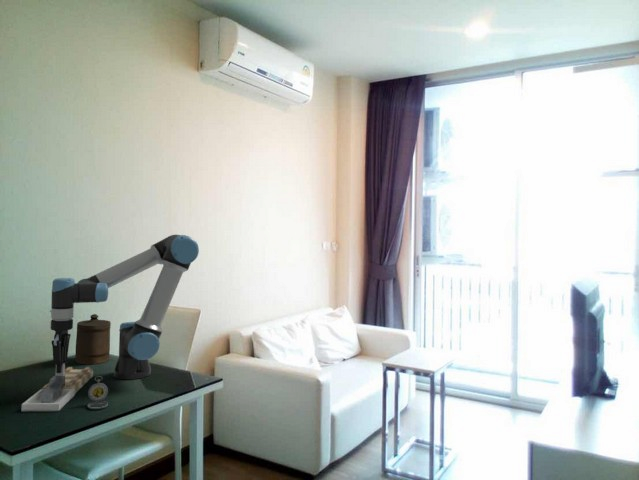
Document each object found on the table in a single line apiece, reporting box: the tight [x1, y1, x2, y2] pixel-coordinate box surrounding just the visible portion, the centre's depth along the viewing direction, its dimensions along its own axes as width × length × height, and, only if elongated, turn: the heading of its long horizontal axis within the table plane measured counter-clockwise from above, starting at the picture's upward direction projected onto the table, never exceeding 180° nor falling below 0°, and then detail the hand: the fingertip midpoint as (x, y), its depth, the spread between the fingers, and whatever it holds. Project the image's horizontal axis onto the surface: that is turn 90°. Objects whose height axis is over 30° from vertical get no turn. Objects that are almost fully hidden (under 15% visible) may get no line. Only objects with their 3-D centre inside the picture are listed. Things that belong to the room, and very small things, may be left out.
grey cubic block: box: [41, 389, 57, 403], centre depth 176 cm, size 4×4×4 cm
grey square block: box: [46, 385, 61, 400], centre depth 180 cm, size 4×4×4 cm
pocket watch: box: [87, 375, 109, 410], centre depth 176 cm, size 8×8×10 cm
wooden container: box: [74, 313, 112, 365], centre depth 233 cm, size 15×15×22 cm
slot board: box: [42, 366, 94, 394], centre depth 196 cm, size 24×11×4 cm, turn 9°
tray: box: [20, 388, 76, 413], centre depth 176 cm, size 16×12×2 cm
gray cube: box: [49, 375, 65, 390], centre depth 183 cm, size 4×4×4 cm
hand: (59, 380), depth 186 cm, fingers closed
